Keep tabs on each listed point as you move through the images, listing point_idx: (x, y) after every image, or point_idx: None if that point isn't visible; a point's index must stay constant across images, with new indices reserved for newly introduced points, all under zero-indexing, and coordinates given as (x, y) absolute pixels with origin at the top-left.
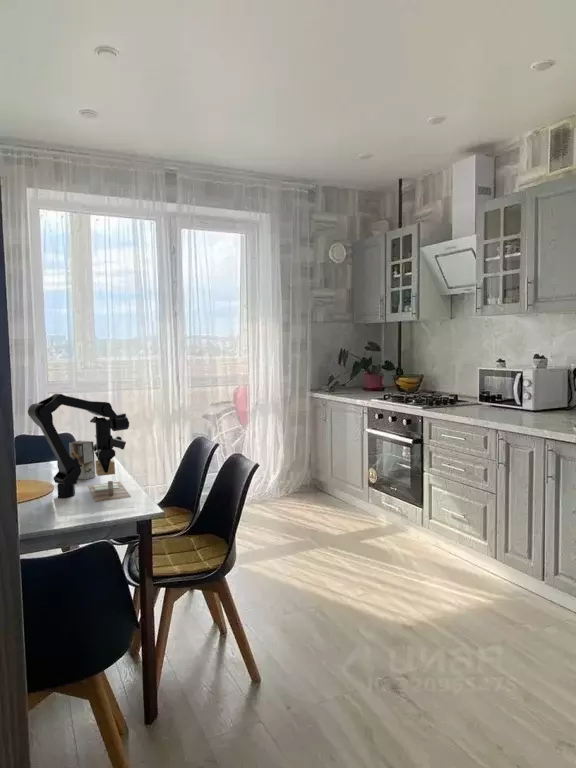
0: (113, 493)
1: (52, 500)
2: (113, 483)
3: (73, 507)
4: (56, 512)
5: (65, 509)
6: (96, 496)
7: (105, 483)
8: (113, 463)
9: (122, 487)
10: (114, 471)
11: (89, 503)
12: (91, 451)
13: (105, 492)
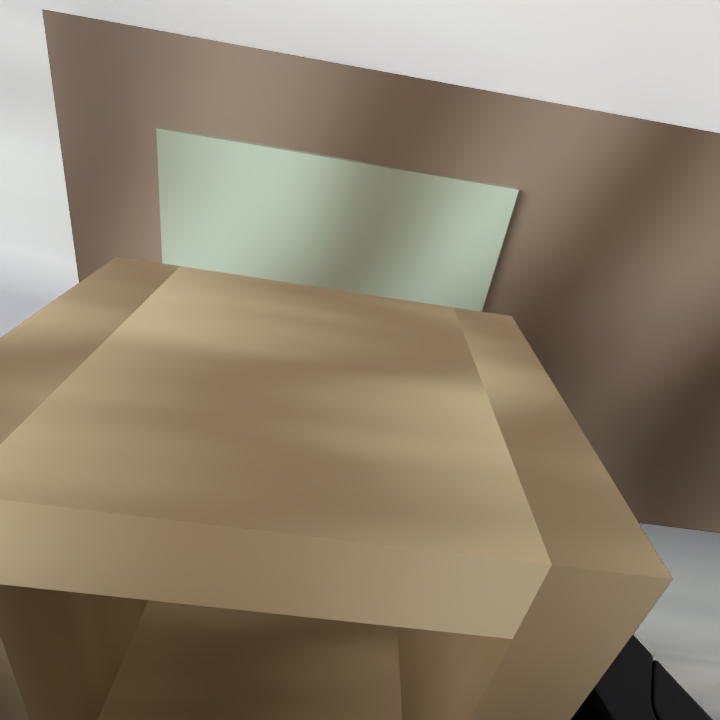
0: (718, 340)
1: None
2: (189, 180)
3: (695, 626)
4: (704, 697)
5: (691, 661)
6: (659, 498)
7: (80, 263)
8: (611, 543)
9: (510, 127)
10: (525, 354)
11: (704, 540)
12: None
13: (584, 396)
